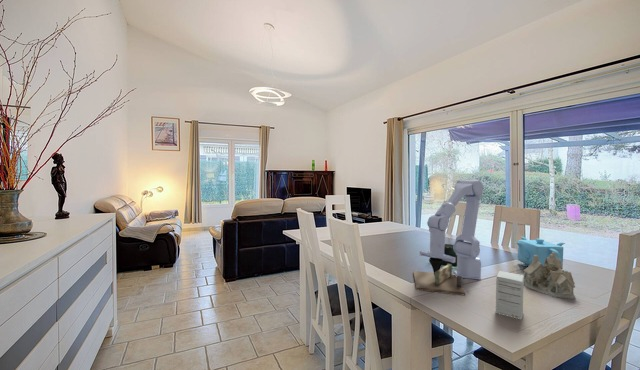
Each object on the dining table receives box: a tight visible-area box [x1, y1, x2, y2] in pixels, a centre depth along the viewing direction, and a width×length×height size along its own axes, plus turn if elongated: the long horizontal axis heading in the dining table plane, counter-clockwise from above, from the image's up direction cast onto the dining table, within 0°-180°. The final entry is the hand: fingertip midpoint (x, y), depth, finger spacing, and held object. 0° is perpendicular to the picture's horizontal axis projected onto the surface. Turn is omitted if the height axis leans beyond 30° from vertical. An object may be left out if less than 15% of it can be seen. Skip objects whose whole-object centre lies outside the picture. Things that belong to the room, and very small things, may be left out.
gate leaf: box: [435, 264, 453, 285], centre depth 122 cm, size 16×2×5 cm, turn 136°
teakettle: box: [514, 236, 566, 270], centre depth 142 cm, size 19×19×15 cm
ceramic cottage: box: [523, 252, 576, 300], centre depth 115 cm, size 16×16×15 cm
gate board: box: [413, 270, 467, 296], centre depth 121 cm, size 18×20×5 cm
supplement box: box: [495, 270, 524, 320], centre depth 96 cm, size 7×7×13 cm
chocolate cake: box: [441, 243, 457, 269], centre depth 150 cm, size 20×20×9 cm
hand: (436, 275), depth 121 cm, fingers closed
